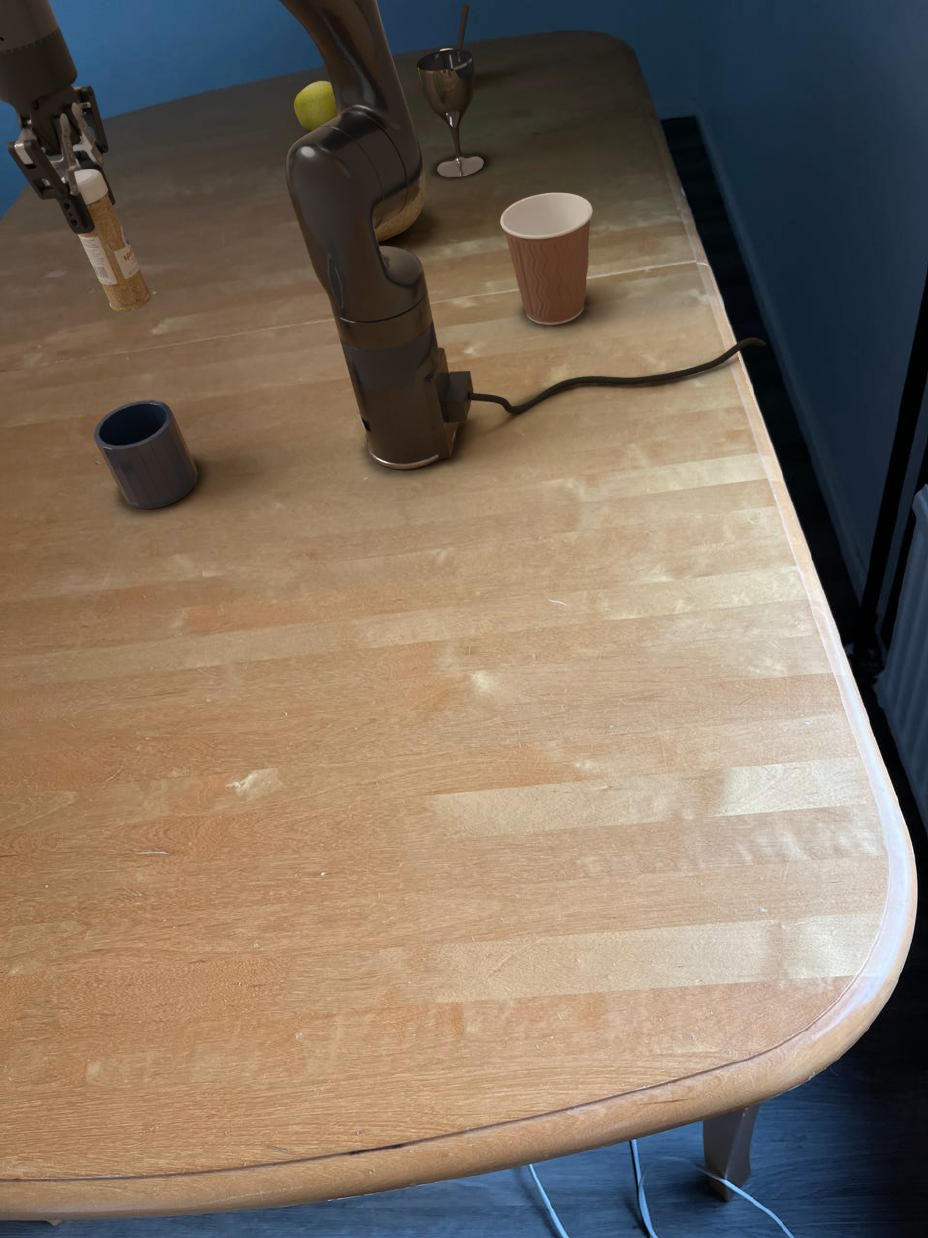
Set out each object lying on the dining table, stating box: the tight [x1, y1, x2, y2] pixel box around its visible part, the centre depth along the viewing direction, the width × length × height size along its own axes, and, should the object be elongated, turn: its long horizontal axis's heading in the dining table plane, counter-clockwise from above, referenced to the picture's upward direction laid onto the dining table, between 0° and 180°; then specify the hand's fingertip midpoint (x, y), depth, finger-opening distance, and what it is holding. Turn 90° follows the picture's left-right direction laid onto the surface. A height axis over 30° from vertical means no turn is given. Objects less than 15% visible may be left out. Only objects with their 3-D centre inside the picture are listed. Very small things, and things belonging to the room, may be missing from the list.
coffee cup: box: [499, 192, 593, 326], centre depth 118 cm, size 10×10×12 cm
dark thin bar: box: [439, 1, 470, 51], centre depth 171 cm, size 10×6×12 cm, turn 98°
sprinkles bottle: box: [60, 169, 152, 313], centre depth 104 cm, size 5×5×13 cm
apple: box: [293, 80, 338, 133], centre depth 167 cm, size 8×9×8 cm
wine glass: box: [416, 48, 485, 178], centre depth 149 cm, size 8×8×15 cm
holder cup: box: [93, 399, 199, 510], centre depth 108 cm, size 8×8×8 cm
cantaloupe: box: [375, 169, 427, 243], centre depth 137 cm, size 15×15×15 cm
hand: (95, 218), depth 102 cm, fingers closed on sprinkles bottle, 4 cm apart
